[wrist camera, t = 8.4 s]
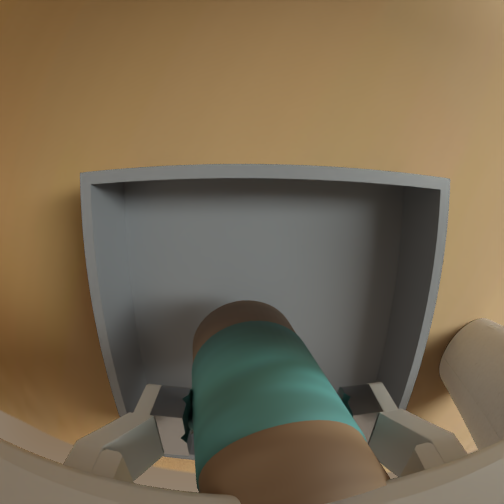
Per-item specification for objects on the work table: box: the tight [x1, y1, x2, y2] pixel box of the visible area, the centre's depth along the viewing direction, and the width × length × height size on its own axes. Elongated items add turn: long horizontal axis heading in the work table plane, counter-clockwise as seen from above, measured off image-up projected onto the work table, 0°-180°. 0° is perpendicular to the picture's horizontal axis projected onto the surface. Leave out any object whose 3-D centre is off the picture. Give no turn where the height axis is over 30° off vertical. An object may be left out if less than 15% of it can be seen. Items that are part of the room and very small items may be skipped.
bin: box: [80, 164, 450, 460], centre depth 14 cm, size 15×15×4 cm
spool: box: [192, 300, 390, 504], centre depth 9 cm, size 4×4×9 cm
